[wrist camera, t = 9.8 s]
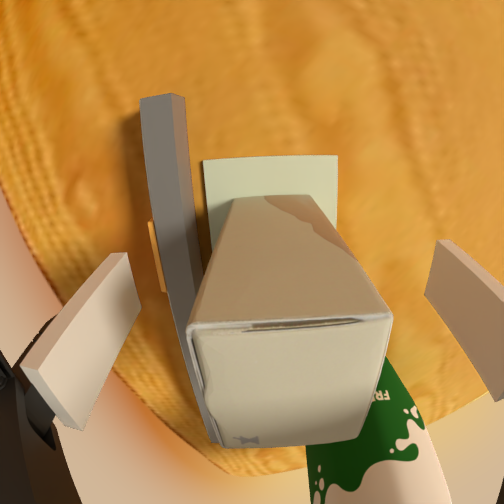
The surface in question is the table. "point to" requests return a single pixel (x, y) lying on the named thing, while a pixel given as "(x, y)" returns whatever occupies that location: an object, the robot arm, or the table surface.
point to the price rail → (173, 217)
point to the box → (286, 328)
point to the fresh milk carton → (380, 456)
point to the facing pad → (269, 182)
